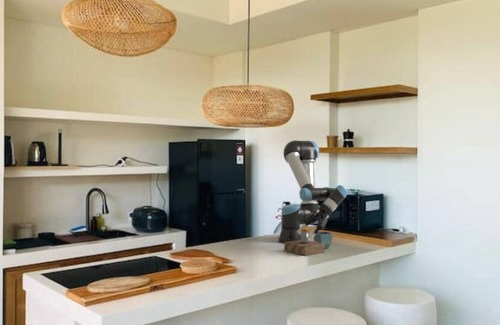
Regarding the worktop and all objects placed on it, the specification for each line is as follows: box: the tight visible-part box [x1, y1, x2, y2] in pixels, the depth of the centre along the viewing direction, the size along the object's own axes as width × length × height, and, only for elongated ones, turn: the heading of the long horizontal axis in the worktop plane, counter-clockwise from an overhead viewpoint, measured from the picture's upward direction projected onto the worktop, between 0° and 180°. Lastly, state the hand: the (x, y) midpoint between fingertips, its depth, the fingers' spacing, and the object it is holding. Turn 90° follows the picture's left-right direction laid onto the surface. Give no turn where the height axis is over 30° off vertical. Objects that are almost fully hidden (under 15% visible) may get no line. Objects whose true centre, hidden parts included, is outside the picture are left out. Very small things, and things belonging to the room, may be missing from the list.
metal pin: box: [300, 226, 309, 244], centre depth 269 cm, size 4×4×14 cm
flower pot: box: [313, 231, 334, 249], centre depth 282 cm, size 9×9×9 cm
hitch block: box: [283, 240, 326, 257], centre depth 269 cm, size 16×16×5 cm
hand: (304, 235), depth 268 cm, fingers open, 13 cm apart
